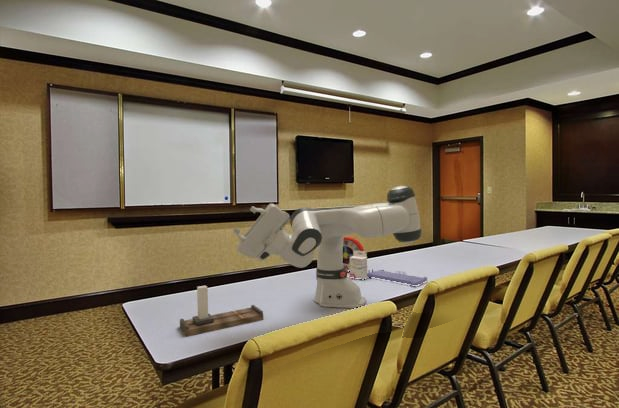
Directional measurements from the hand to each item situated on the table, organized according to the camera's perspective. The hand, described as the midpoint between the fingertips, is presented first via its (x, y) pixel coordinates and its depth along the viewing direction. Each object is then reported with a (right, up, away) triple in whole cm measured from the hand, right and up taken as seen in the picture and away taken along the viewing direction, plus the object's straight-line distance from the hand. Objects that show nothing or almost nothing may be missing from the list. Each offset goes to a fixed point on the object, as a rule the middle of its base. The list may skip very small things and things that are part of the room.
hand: (242, 218), depth 120 cm
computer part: (+68, -36, +69) cm, 103 cm away
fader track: (-9, -39, +11) cm, 41 cm away
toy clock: (+44, -35, +90) cm, 106 cm away
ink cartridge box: (+49, -35, +73) cm, 95 cm away
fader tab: (-15, -37, +7) cm, 40 cm away
